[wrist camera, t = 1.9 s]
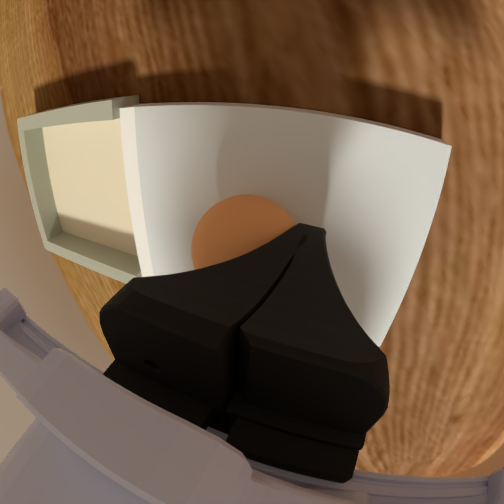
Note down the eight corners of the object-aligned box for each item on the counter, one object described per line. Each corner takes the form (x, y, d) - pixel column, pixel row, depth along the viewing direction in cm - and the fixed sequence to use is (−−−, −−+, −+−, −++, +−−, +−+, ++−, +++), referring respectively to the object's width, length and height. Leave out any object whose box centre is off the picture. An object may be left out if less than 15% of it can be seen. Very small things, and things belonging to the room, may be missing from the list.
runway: (381, 326, 15) (379, 346, 13) (156, 264, 18) (142, 277, 17) (441, 139, 9) (451, 146, 8) (139, 104, 13) (119, 108, 12)
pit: (157, 271, 19) (138, 288, 17) (61, 237, 22) (45, 248, 20) (139, 94, 13) (111, 99, 11) (38, 112, 16) (17, 118, 14)
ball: (310, 291, 12) (253, 345, 9) (236, 257, 14) (171, 294, 11) (328, 200, 10) (266, 235, 7) (241, 175, 12) (165, 196, 9)
